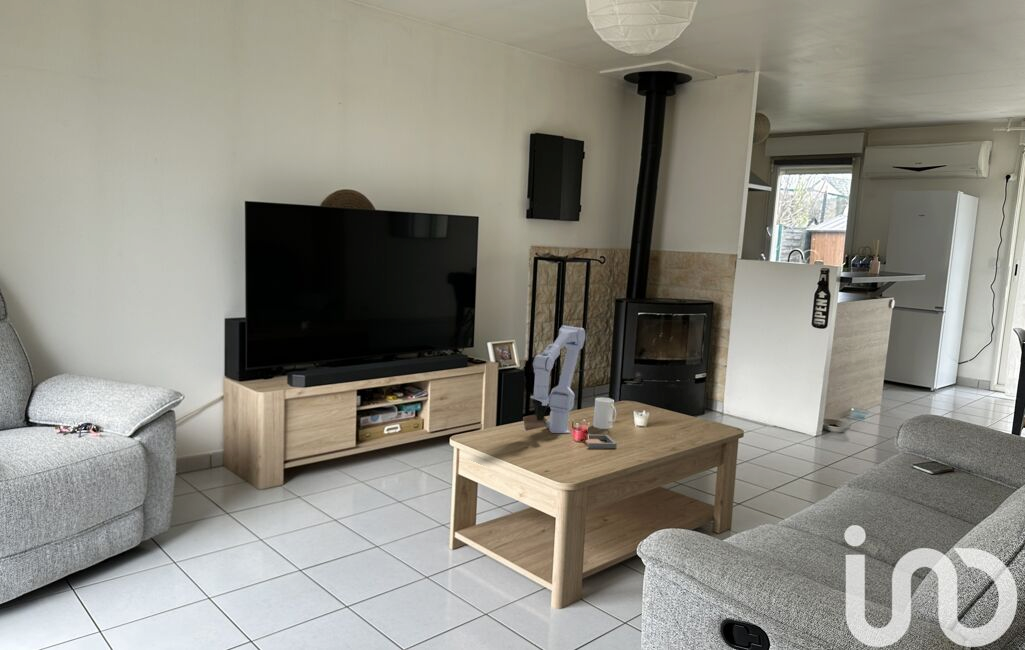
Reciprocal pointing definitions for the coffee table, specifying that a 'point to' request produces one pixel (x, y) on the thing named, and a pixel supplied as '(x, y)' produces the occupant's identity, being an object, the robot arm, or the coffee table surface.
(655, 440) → the coffee table surface
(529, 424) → the plank on grey base
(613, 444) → the frame
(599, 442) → the tile
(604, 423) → the mug
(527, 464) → the coffee table surface
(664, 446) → the coffee table surface
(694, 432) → the coffee table surface
